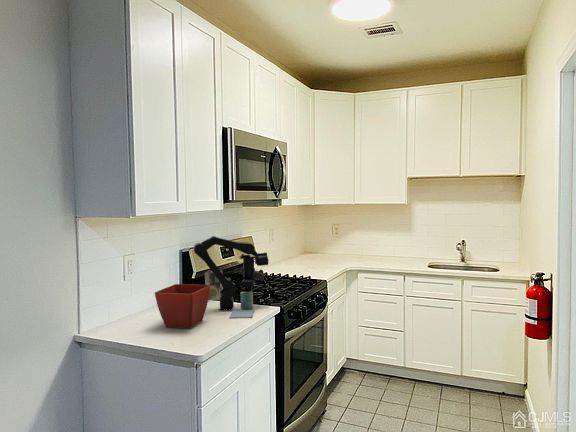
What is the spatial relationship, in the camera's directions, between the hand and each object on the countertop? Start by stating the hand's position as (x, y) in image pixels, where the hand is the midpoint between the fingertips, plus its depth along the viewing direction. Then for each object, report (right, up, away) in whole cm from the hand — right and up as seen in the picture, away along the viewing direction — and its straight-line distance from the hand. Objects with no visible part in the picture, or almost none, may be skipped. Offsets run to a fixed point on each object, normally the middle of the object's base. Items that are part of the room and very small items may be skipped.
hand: (249, 295), depth 224 cm
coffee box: (-22, -6, +19) cm, 29 cm away
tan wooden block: (-1, -6, -5) cm, 8 cm away
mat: (-2, -7, -14) cm, 16 cm away
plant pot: (-28, -8, -27) cm, 40 cm away
